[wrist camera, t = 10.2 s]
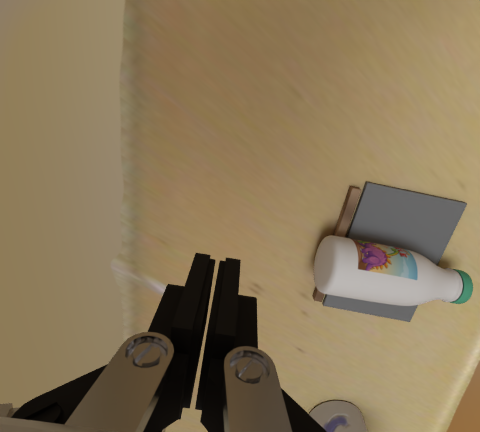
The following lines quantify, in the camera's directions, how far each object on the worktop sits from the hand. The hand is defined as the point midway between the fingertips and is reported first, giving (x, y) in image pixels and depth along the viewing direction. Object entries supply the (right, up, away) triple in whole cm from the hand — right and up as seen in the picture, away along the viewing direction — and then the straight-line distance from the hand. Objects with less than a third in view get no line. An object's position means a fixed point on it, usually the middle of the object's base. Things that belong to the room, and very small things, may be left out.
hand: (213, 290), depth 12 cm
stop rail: (+15, -1, +35) cm, 38 cm away
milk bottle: (+12, -3, +31) cm, 33 cm away
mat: (+23, -3, +36) cm, 42 cm away
